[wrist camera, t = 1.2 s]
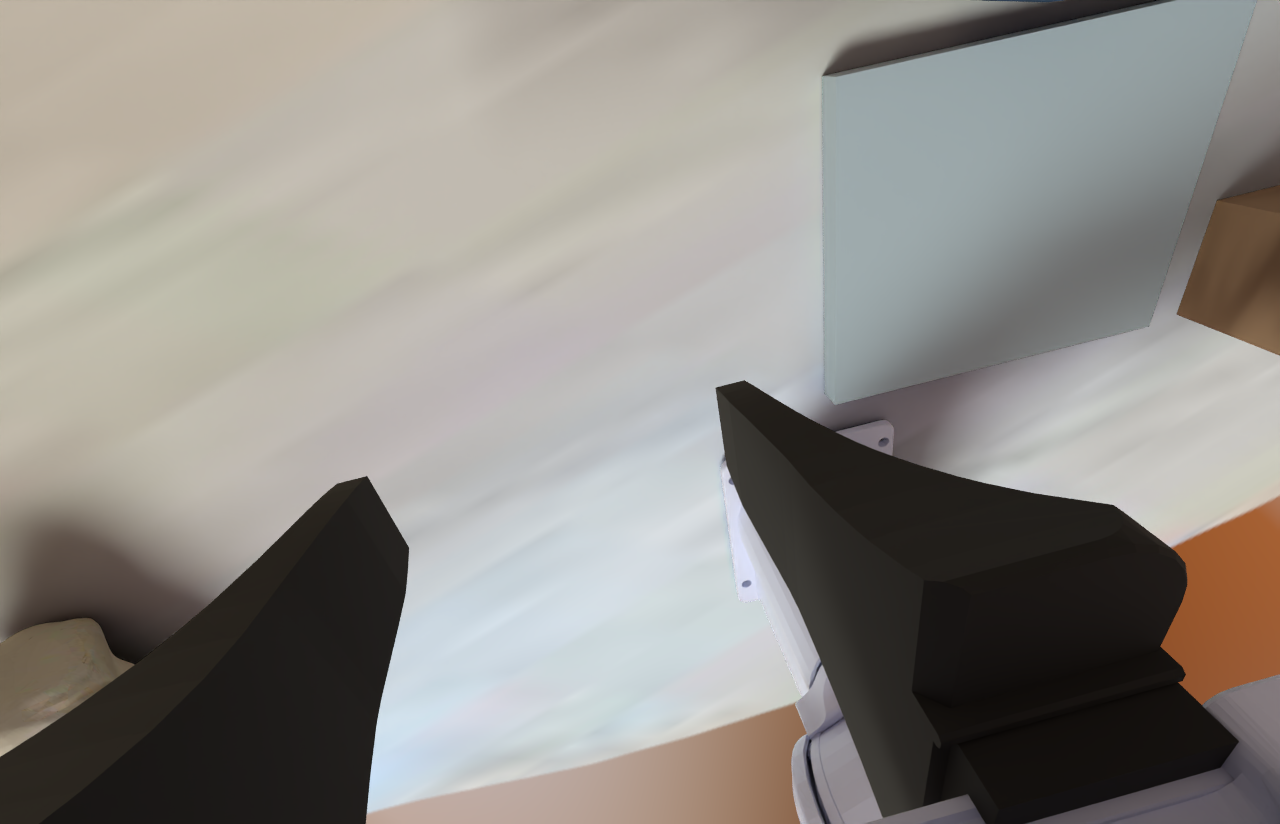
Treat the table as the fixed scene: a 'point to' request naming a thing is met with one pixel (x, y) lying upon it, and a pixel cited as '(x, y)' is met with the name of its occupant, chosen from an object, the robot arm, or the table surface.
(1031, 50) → the board
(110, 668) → the ceramic sculpture
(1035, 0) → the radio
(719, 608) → the table surface
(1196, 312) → the walnut block
